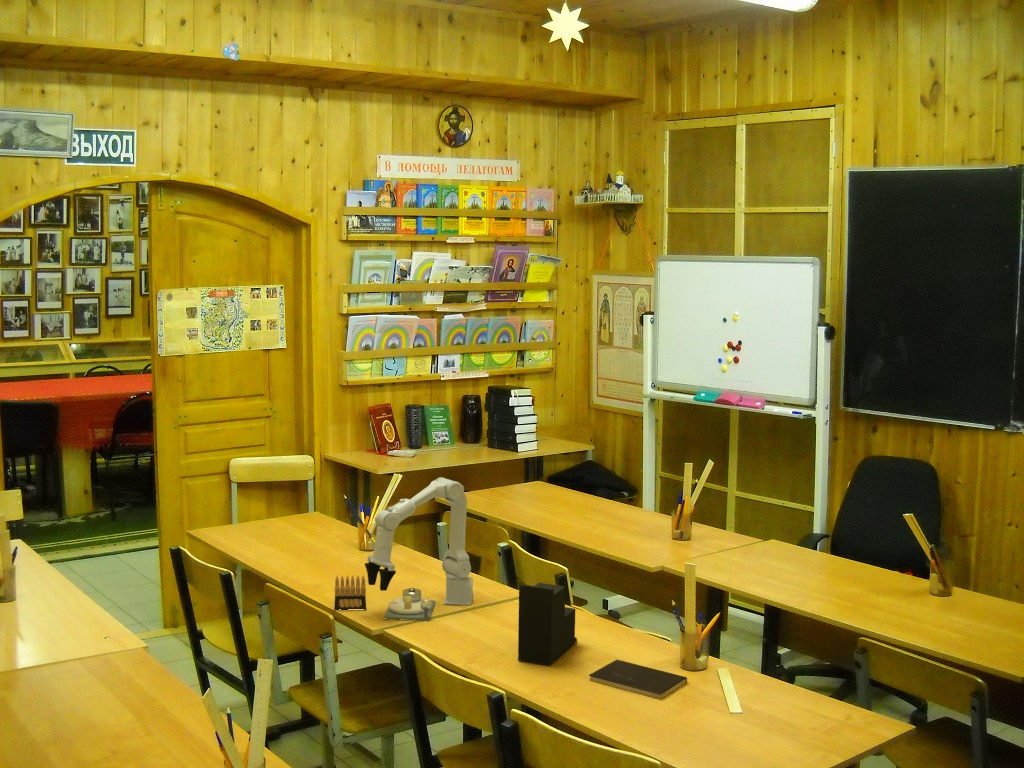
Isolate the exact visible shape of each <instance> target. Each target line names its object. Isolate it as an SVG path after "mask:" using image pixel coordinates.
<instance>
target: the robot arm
mask: <svg viewBox="0 0 1024 768" xmlns="http://www.w3.org/2000/svg"><path fill="white" fill-rule="evenodd" d="M434 498H438V499H440V498H441V499H445V501H446V502H448V503H449V504H450V518H449V519H450V520H449V521H450V522H449V538H448V539H449V544H448V549H447V550H446V551H445V552H444V558H443V561H442V563H441V567H442V570H443V572H445V576H446V577H445V585H446V586H445V599H444V602H443V605H454V604H455V605H456V606H457V605H458V606H461V605H463V606H472V603H473V599H474V579H473V578H474V577H472V576H469V575H470V574H471V571H472V566H471V562H470V556H469V554H468V553H467V551H466V550H465V549H466V532H467V531H466V530H467V511H468V499H467V496H466V493H465V486H464V485H463V484H461V483H460V482H459V481H456V480H451V479H448V478H445V477H443V476H441V477H440V476H439V477H438V478H436V479H435V480H432V481H430V484H429V485H428V486H426V487H425V488H423V489H421V491H420V492H418V493H417V494H416V495H414V496H413V497H411V498H410V499H409V498H401V499H399V502H397V503H395V504H394V505H393V506H389V507H388V508H387V510H386V509H383V510H381V511H379V512H378V513H377V515H376V517H374V522H375V523H374V524H376V535H375V542H374V549H373V555H370V554H369V555H367V558H366V559H367V562H365V563H364V566H365V570H366V574H367V583H368V585H369V586H375V585H376V583H377V577H378V574H379V579H380V580H379V590H380V591H381V592H383V591H388V589H389V588H388V587H389V585H390V582H391V580H392V579H393V577H395V575H396V573H397V571H396V570H395V569H396V565H395V564H394V563H393V562H392V561H391V555H392V551H393V544H394V538H395V537H394V536H395V530H396V529H397V528H398V526H399V525H400V523H401V522H403V521H404V520H405V519H407V518H408V517H410V516H411V515H413V514H414V513H415V511H416V508H418V507H420V506H421V505H423V504H425V503H427V502H428V501H430V500H432V499H434Z"/></svg>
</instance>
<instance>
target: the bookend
mask: <svg viewBox="0 0 1024 768" xmlns="http://www.w3.org/2000/svg"><path fill="white" fill-rule="evenodd" d="M518 589H519V590H518V629H517V630H518V633H517V634H518V635H517V636H518V642H517V643H518V644H517V646H518V647H517V661H519V662H521V661H522V662H525V663H526V662H527V663H532V664H540V665H545V666H552V665H553V664H554V663H555V662H556V661H557V660H559V658H561V657H562V656H563V655H564V654H565V653H566V652H567V651H569V650H570V649H571V648H572V647H573V646H574V645H575V644H576V643H578V638H577V637H576V608H572V607H567V606H566V586H564V585H559V584H549V583H544V582H538V583H536V584H535V585H530V584H521V583H520V584H519V585H518ZM575 642H576V643H575ZM574 643H575V644H574ZM572 645H573V646H572ZM569 648H570V649H569Z"/></svg>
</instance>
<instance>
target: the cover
mask: <svg viewBox="0 0 1024 768" xmlns="http://www.w3.org/2000/svg"><path fill="white" fill-rule="evenodd" d="M404 596H411V597H412V603H413V602H419V601H421V598H422V590H421V589H420V588H416V587H409V588H406V589H403V590H402V597H403V601H404Z"/></svg>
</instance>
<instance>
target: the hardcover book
mask: <svg viewBox="0 0 1024 768" xmlns="http://www.w3.org/2000/svg"><path fill="white" fill-rule="evenodd" d="M588 676H589V677H590V681H591V680H593V681H592V682H596V683H598V684H603V685H607V686H610V687H615V688H618V689H621V690H625V691H629V692H633V693H637V694H639V695H643V696H647V697H651V698H655V699H658V700H661V699H662V698H664V697H666V696H667V695H669V694H670V693H672V692H674V691H675V690H677V689H678V688H680V687H681V686H683V685H684V684H687V683H688V677H687V676H683V675H680V674H677V673H676V674H675V673H672V672H667V671H664V670H659V669H655V668H652V667H647V666H643V665H640V664H636V663H633V662H629V661H625V660H620V659H615V660H613V661H611V662H610V663H608V664H605V666H603V667H600V668H599V669H597V670H595V671H593V672H591V673H590V674H589V675H588Z"/></svg>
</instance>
